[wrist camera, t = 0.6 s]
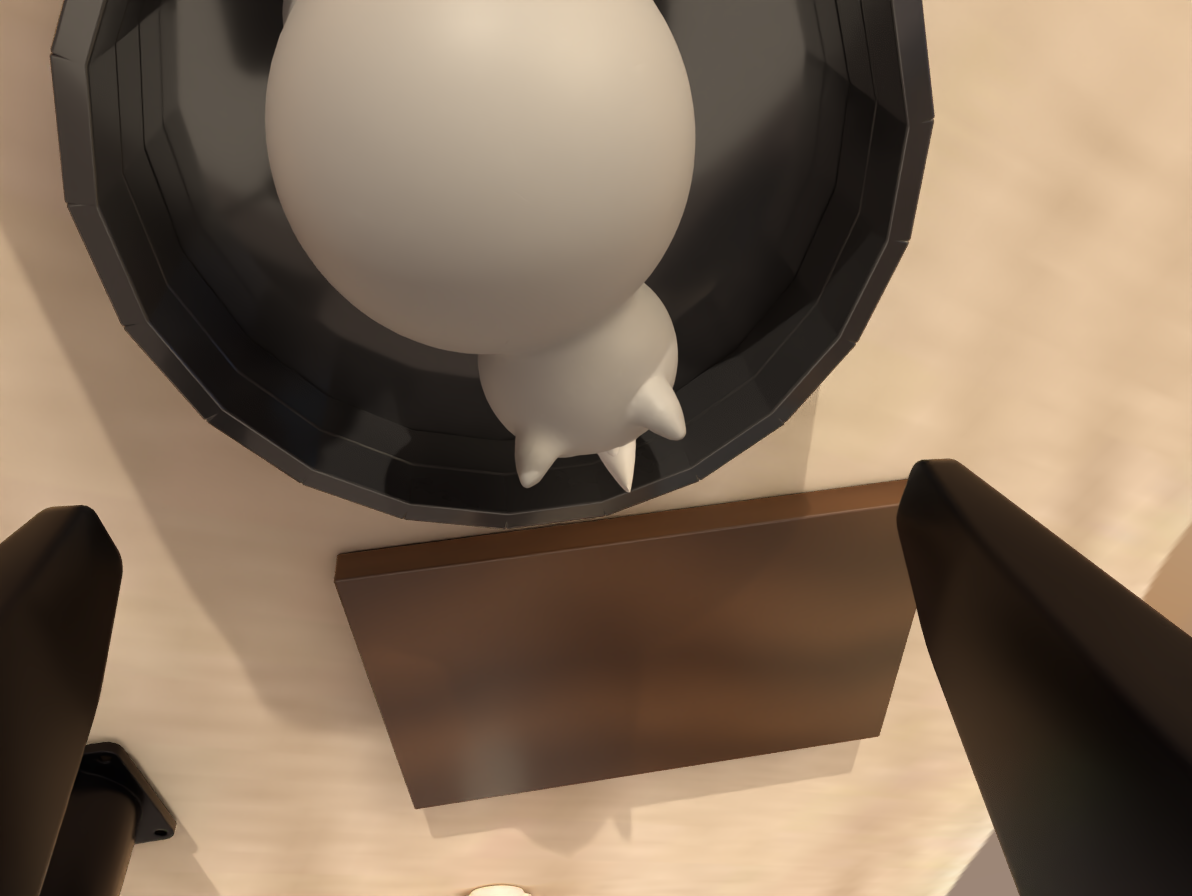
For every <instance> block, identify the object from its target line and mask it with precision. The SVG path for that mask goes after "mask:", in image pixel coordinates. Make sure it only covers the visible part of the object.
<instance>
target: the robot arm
mask: <svg viewBox="0 0 1192 896" xmlns="http://www.w3.org/2000/svg"><path fill="white" fill-rule="evenodd" d="M896 524H897V531H898V535H899V539H900V543H901V547H902V551H903V555H904V559H905V563H906V567H907V571H908V575H909V579H910V583H911V587H912V591H913V596H914V600H915V604H916V608H917V612H918V616H919V620H920V624H921V628H922V631H923V635H924V639H925V642H926V646H927V649H928V652H929V655H930V658H931V661H932V663H933V666H934V669H935V672H936V674H937V677H938V680H939V682H940V685H941V688H942V690H943V693H944V696H945V698H946V701H947V704H948V706H949V709H950V712H951V714H952V717H953V720H954V722H955V725H956V728H957V730H958V733H959V736H960V738H961V741H962V744H963V746H964V749H965V752H966V754H967V757H968V760H969V762H970V765H971V768H972V770H973V773H974V776H975V778H976V781H977V784H978V786H979V789H980V792H981V794H982V797H983V800H984V802H985V805H986V808H987V810H988V813H989V816H990V818H991V821H992V824H993V826H994V829H995V832H996V834H997V837H998V840H999V842H1000V845H1001V847H1002V850H1003V853H1004V855H1005V858H1006V861H1007V864H1008V866H1009V869H1010V871H1011V874H1012V877H1013V879H1014V882H1015V885H1016V887H1017V890H1018V893H1019V895H1020V896H1192V637H1191V636H1189V635H1188V634H1186V633H1185V632H1184V631H1182V630H1181V629H1180V628H1179V627H1177V626H1176V625H1175V624H1173V623H1172V622H1170V621H1169V620H1168V619H1167V618H1165V617H1164V616H1163V615H1161V614H1160V613H1159V612H1157V611H1156V610H1155V609H1153V608H1152V607H1151V606H1149V605H1148V604H1147V603H1145V602H1144V601H1143V600H1141V599H1140V598H1139V597H1137V596H1136V595H1135V594H1133V593H1132V592H1131V591H1129V590H1128V589H1127V588H1126V587H1124V586H1123V585H1122V584H1120V583H1119V582H1118V581H1116V580H1115V579H1114V578H1112V577H1111V576H1110V575H1108V574H1107V573H1106V572H1104V571H1103V570H1102V569H1100V568H1099V567H1098V566H1096V565H1095V564H1094V563H1092V562H1091V561H1090V560H1088V559H1087V558H1086V557H1084V556H1083V555H1082V554H1080V553H1079V552H1078V551H1076V550H1075V549H1074V548H1072V547H1071V546H1070V545H1068V544H1067V543H1066V542H1064V541H1063V540H1062V539H1060V538H1059V537H1058V536H1057V535H1055V534H1054V533H1053V532H1051V531H1050V530H1049V529H1047V528H1046V527H1045V526H1043V525H1042V524H1041V523H1039V522H1038V521H1037V520H1035V519H1034V518H1033V517H1031V516H1030V515H1029V514H1027V513H1026V512H1025V511H1023V510H1022V509H1021V508H1019V507H1018V506H1017V505H1015V504H1014V503H1013V502H1011V501H1010V500H1009V499H1007V498H1006V497H1005V496H1003V495H1002V494H1001V493H999V492H998V491H997V490H995V489H994V488H993V487H992V486H990V485H989V484H988V483H986V482H985V481H984V480H982V479H981V478H980V477H978V476H977V475H976V474H974V473H973V472H972V471H970V470H969V469H968V468H966V467H965V466H964V465H962V464H961V463H959V462H958V461H956V460H954V459H929V460H920V461H918V462H917V463H916V464H915V465H914V466H913V468H912V470H911V472H910V475H909V478H908V480H907V483H906V486H905V488H904V491H903V494H902V497H901V499H900V502H899V505H898V508H897V513H896ZM122 572H123V565H122V559H121V556H120V553H119V551H118V549H117V547H116V546H115V544H114V542H113V541H112V539H111V537H110V536H109V534H108V532H107V531H106V529H105V527H104V526H103V524H102V522H101V520H100V519H99V517H98V515H97V514H96V513H95V511H94V510H93V509H91V508H90V507H88V506H84V505H74V506H56V507H49V508H46V509H44V510H42V511H41V512H39V513H38V514H37V515H35V516H34V517H33V518H32V519H30V520H29V521H28V522H27V523H25V524H24V525H23V526H22V527H21V528H19V529H18V530H17V531H16V532H14V533H13V534H12V535H11V536H9V537H8V538H7V539H6V540H4V541H3V542H2V543H1V544H0V896H120V892H121V889H122V885H123V882H124V878H125V875H126V871H127V868H128V864H129V861H130V857H131V854H132V850H133V847H134V844H137V843H144V842H150V841H157V840H163V839H168V838H170V837H172V836H173V835H174V832H175V828H176V821H175V820H174V819H173V817H172V816H171V814H170V813H169V812H168V810H167V809H166V807H165V806H164V805H163V803H162V802H161V800H160V799H159V798H158V796H157V795H156V793H155V792H154V791H153V789H152V788H151V786H150V785H149V784H148V782H147V781H146V779H145V778H144V777H143V775H142V774H141V772H140V771H139V770H138V768H137V767H136V766H135V764H134V763H133V761H132V760H131V759H130V757H129V756H128V754H127V753H126V752H125V750H124V749H123V748H122V747H121V746H120V745H118V744H116V743H111V742H102V743H95V744H89V745H86V743H87V739H88V736H89V733H90V730H91V727H92V723H93V720H94V716H95V713H96V709H97V705H98V702H99V697H100V692H101V688H102V683H103V678H104V673H105V667H106V662H107V656H108V651H109V645H110V640H111V634H112V629H113V623H114V618H115V612H116V607H117V601H118V596H119V590H120V585H121V579H122Z"/></svg>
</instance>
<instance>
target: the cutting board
mask: <svg viewBox="0 0 1192 896" xmlns="http://www.w3.org/2000/svg"><path fill="white" fill-rule="evenodd" d="M907 480H908V479H904V480H897V481H889V482H882V483H874V484H866V485H859V486H851V487H844V488H836V489H829V490H821V491H814V492H806V493H799V494H791V495H784V496H776V497H768V498H761V499H753V500H746V501H738V502H731V503H723V504H716V505H708V506H701V507H693V508H686V509H678V510H670V511H663V512H655V513H648V514H640V515H633V516H625V517H618V518H610V519H603V520H595V521H587V522H580V523H572V524H565V525H557V526H550V527H542V528H535V529H527V530H520V531H512V532H505V533H497V534H489V535H482V536H474V537H467V538H459V539H452V540H444V541H437V542H429V543H422V544H414V545H407V546H399V547H391V548H384V549H376V550H369V551H361V552H354V553H346V554H339V555H338V556H337V561H336V568H335V576H334V583H335V586H336V589H337V591H338V594H339V597H340V600H341V603H342V605H343V608H344V611H345V614H346V617H347V619H348V622H349V625H350V628H351V631H352V634H353V636H354V639H355V642H356V645H357V648H358V650H359V653H360V656H361V659H362V662H363V664H364V667H365V670H366V673H367V676H368V679H369V681H370V684H371V687H372V690H373V693H374V695H375V698H376V701H377V704H378V707H379V709H380V712H381V715H382V718H383V721H384V724H385V726H386V729H387V732H388V735H389V738H390V740H391V743H392V746H393V749H394V752H395V755H396V757H397V760H398V763H399V766H400V769H401V771H402V774H403V777H404V780H405V783H406V785H407V788H408V791H409V794H410V797H411V800H412V802H413V805H414V808H415V809H421V808H427V807H433V806H440V805H446V804H452V803H459V802H465V801H471V800H478V799H484V798H490V797H497V796H503V795H510V794H516V793H522V792H529V791H535V790H541V789H548V788H554V787H560V786H567V785H573V784H579V783H586V782H592V781H599V780H605V779H611V778H618V777H624V776H630V775H637V774H643V773H649V772H656V771H662V770H668V769H675V768H681V767H688V766H694V765H700V764H707V763H713V762H719V761H726V760H732V759H738V758H745V757H751V756H757V755H764V754H770V753H777V752H783V751H789V750H796V749H802V748H808V747H815V746H821V745H827V744H834V743H840V742H846V741H853V740H859V739H866V738H872V737H878V736H879V735H880V732H881V728H882V725H883V721H884V718H885V714H886V711H887V708H888V704H889V701H890V697H891V694H892V690H893V687H894V683H895V680H896V676H897V673H898V669H899V666H900V663H901V659H902V656H903V652H904V649H905V645H906V642H907V638H908V635H909V631H910V628H911V625H912V621H913V618H914V614H915V611H916V604H915V600H914V596H913V591H912V587H911V583H910V579H909V575H908V571H907V567H906V563H905V559H904V555H903V551H902V547H901V543H900V539H899V535H898V531H897V524H896V513H897V508H898V505H899V502H900V499H901V497H902V494H903V491H904V488H905V486H906V483H907Z"/></svg>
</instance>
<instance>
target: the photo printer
mask: <svg viewBox="0 0 1192 896" xmlns="http://www.w3.org/2000/svg"><path fill="white" fill-rule="evenodd" d="M468 896H531V894H528V893H524V891H523V889H521V888H519V887H515V886H507V885H496V886H487V887H482V888H478V889H475V890H473V891H472V892H471V894H470V895H468Z"/></svg>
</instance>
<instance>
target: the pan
mask: <svg viewBox="0 0 1192 896" xmlns="http://www.w3.org/2000/svg"><path fill="white" fill-rule="evenodd" d="M653 1H654V3H655V5H656V6H657V8H658V10H659V11H660V13H661V14H662V16H663V18H664V19H665V21H666V23H667V25H668V27H669V29H670V31H671V33H672V35H673V37H674V40H675V42H676V44H677V47H678V49H679V52H680V54H681V57H682V60H683V63H684V66H685V69H686V73H687V77H688V81H689V85H690V90H691V95H692V101H693V107H694V117H695V157H694V169H693V175H692V181H691V186H690V190H689V195H688V199H687V203H686V206H685V209H684V212H683V215H682V218H681V220H680V223H679V226H678V228H677V230H676V232H675V235H674V237H673V239H672V241H671V243H670V245H669V247H668V248H667V250H666V252H665V254H664V255H663V257H662V259H661V260H660V262H659V263H658V265H657V266H656V268H655V269H654V271H653V272H652V273H651V275H650V276H649V277H648V278H647V280H646V281H645V282H644V283H645V284H646V285H647V286H648V287H649V288H650V289H652V291H653V292H654V293H655V294H656V295H657V296H658V297H659V299H660V300H661V302H662V303H663V305H664V306H665V308H666V310H667V312H668V314H669V316H670V318H671V321H672V324H673V327H674V330H675V334H676V339H677V347H678V364H677V372H676V377H675V382H674V386H673V388H672V389H673V391H674V393H675V395H676V397H677V399H678V401H679V403H680V406H681V409H682V412H683V416H684V420H685V426H686V435H685V436H684V438H683V439H680V440H670V439H667V438H665V437H663V436H660V435H658V434H656V433H654V432H652V431H650V430H649V429H648V430H647V431H646V432H645V433H643V434H642V435H640V436H639V437H638V438H637V439H636V450H635V464H634V472H633V479H632V485H631V490H630V492H626V491H625V490H624V489H623V488H622V487H621V486H620V485H619V484H618V482H617V481H616V480H615V479H614V477H613V476H612V475H611V473H610V472H609V471H608V469H607V468H606V466H605V465H604V463H603V462H602V460H601V459H600V457H599V455H598V453H596V454H587V455H577V456H573V457H565V458H559V457H558V458H557V459H556V460H555V461H554V463H553V464H552V465H551V467H550V468H549V469H548V471H547V472H546V473H545V475H544V476H543V478H542V479H541V480H540V482H538V483H537V484H535V485H534V486H532V487H530V488H525V487H523V486H522V484H521V482H520V479H519V476H518V473H517V469H516V463H515V438H516V436H514V435H513V434H512V433H511V432H510V431H509V430H507V428H506V427H505V426H504V425H503V424H502V423H501V421H500V420H499V419H498V418H497V416H496V415H495V413H494V412H493V410H492V408H491V407H490V405H489V403H488V401H487V399H486V396H485V394H484V391H483V388H482V385H481V381H480V376H479V370H478V354H467V353H459V352H453V351H447V350H442V349H438V348H435V347H431V346H428V345H425V344H422V343H419V342H416V341H414V340H411V339H409V338H407V337H404V336H402V335H399V334H397V333H396V332H394V331H392V330H390V329H388V328H386V327H384V326H383V325H381V324H379V323H378V322H376V321H374V320H373V319H371V318H370V317H368V316H367V315H366V314H364V313H363V312H361V311H360V310H359V309H357V308H356V307H355V306H354V305H352V304H351V303H350V302H349V301H348V300H347V299H346V298H345V297H343V296H342V295H341V294H340V293H339V292H338V291H337V290H336V289H335V288H334V287H333V286H332V285H331V284H330V283H329V282H328V281H327V279H326V278H325V277H324V276H323V275H322V274H321V272H320V271H319V270H318V269H317V268H316V266H315V265H314V263H313V262H312V261H311V259H310V258H309V256H308V255H307V253H306V252H305V250H304V249H303V247H302V246H301V244H300V243H299V241H298V239H297V237H296V236H295V234H294V232H293V230H292V228H291V226H290V224H289V221H288V219H287V217H286V215H285V213H284V211H283V208H282V205H281V203H280V200H279V197H278V195H277V191H276V188H275V184H274V180H273V177H272V173H271V169H270V164H269V158H268V152H267V144H266V131H265V105H266V91H267V84H268V78H269V73H270V68H271V63H272V59H273V55H274V52H275V49H276V46H277V43H278V39H279V36H280V34H281V32H282V29H283V27H284V26H283V15H282V11H283V0H64V1H63V4H62V8H61V12H60V15H59V19H58V23H57V27H56V30H55V34H54V38H53V41H52V45H51V54H50V64H51V73H52V83H53V93H54V102H55V112H56V122H57V131H58V141H59V151H60V160H61V170H62V180H63V189H64V199H65V202H66V203H67V208H68V210H69V212H70V214H71V216H72V218H73V221H74V223H75V225H76V227H77V229H78V231H79V234H80V236H81V238H82V240H83V242H84V245H85V247H86V249H87V251H88V253H89V255H90V258H91V260H92V262H93V264H94V266H95V268H96V271H97V273H98V275H99V277H100V279H101V282H102V284H103V286H104V288H105V290H106V292H107V295H108V297H109V299H110V301H111V303H112V306H113V308H114V310H115V312H116V314H117V316H118V319H119V321H120V323H121V325H122V326H124V329H125V331H126V332H127V333H128V334H129V335H130V336H131V338H132V339H133V340H134V341H135V342H136V343H137V344H138V346H139V347H140V348H141V349H142V350H143V351H144V352H145V353H146V355H147V356H148V357H149V358H150V359H151V360H152V361H153V362H154V364H155V365H156V366H157V367H158V368H159V369H160V370H161V372H162V373H163V374H164V375H165V376H166V377H167V378H168V379H169V381H170V382H171V383H172V384H173V385H174V386H175V387H176V388H177V390H178V391H179V392H180V393H181V394H182V395H183V396H184V398H185V399H186V400H187V401H188V402H189V403H190V404H191V405H192V407H193V408H194V409H195V410H196V411H197V412H198V413H199V414H200V416H201V417H202V418H203V419H205V420H206V421H207V422H208V423H209V424H210V425H212V426H214V427H215V428H217V429H218V430H220V431H221V432H223V433H224V434H226V435H227V436H229V437H230V438H232V439H233V440H235V441H236V442H238V443H240V444H241V445H243V446H244V447H246V448H247V449H249V450H250V451H252V452H253V453H255V454H256V455H258V456H259V457H261V458H262V459H264V460H266V461H267V462H269V463H270V464H272V465H273V466H275V467H276V468H278V469H279V470H281V471H282V472H284V473H285V474H287V475H288V476H290V477H292V478H293V479H295V480H296V481H298V482H299V483H302V484H303V485H305V486H308V487H311V488H314V489H317V490H319V491H322V492H325V493H328V494H331V495H334V496H337V497H340V498H343V499H346V500H349V501H351V502H354V503H357V504H360V505H363V506H366V507H369V508H372V509H375V510H378V511H380V512H383V513H386V514H389V515H392V516H395V517H398V518H401V519H403V518H404V519H406V520H415V521H426V522H436V523H446V524H456V525H467V526H477V527H487V528H498V529H506V528H507V529H511V528H518V527H526V526H533V525H541V524H549V523H556V522H564V521H571V520H579V519H586V518H594V517H601V516H605V515H606V516H607V515H610V514H613V513H616V512H618V511H621V510H624V509H626V508H629V507H632V506H634V505H637V504H640V503H642V502H645V501H648V500H650V499H653V498H656V497H658V496H661V495H664V494H666V493H669V492H672V491H674V490H677V489H680V488H682V487H685V486H688V485H690V484H693V483H696V482H698V481H699V480H702V479H703V478H705V477H706V476H708V475H709V474H711V473H712V472H714V471H715V470H717V469H718V468H720V467H721V466H723V465H724V464H726V463H727V462H729V461H730V460H732V459H733V458H735V457H736V456H738V455H739V454H741V453H742V452H744V451H745V450H747V449H748V448H750V447H751V446H752V445H754V444H755V443H757V442H758V441H760V440H761V439H763V438H764V437H766V436H767V435H769V434H770V433H772V432H773V431H775V430H776V429H778V428H779V427H781V426H782V425H784V422H786V421H788V419H789V418H790V417H791V416H792V415H793V414H794V413H795V412H796V411H797V409H798V408H799V407H800V406H801V405H802V404H803V403H804V402H805V401H806V400H807V398H808V397H809V396H810V395H811V394H812V393H813V392H814V391H815V390H816V388H817V387H818V386H819V385H820V384H821V383H822V382H823V381H824V380H825V379H826V377H827V376H828V375H829V374H830V373H831V372H832V371H833V370H834V369H835V367H836V366H837V365H838V364H839V363H840V362H841V361H842V360H843V359H844V358H845V356H846V355H847V354H848V353H849V352H850V351H851V350H852V349H853V348H854V346H855V345H856V342H858V341H859V339H860V337H861V335H862V333H863V331H864V329H865V327H866V325H867V323H868V322H869V320H870V318H871V316H872V314H873V312H874V310H875V308H876V306H877V304H878V302H879V300H880V298H881V296H882V294H883V292H884V291H885V289H886V287H887V285H888V283H889V281H890V279H891V277H892V275H893V273H894V271H895V269H896V267H897V265H898V263H899V262H900V260H901V258H902V256H903V254H904V252H905V250H906V248H907V246H908V244H909V240H910V239H911V234H912V229H913V224H914V219H915V214H916V209H917V204H918V199H919V194H920V189H921V184H922V179H923V174H924V169H925V164H926V159H927V154H928V149H929V144H930V139H931V134H932V129H933V124H934V119H933V118H934V116H935V115H934V106H933V97H932V87H931V78H930V69H929V60H928V50H927V41H926V32H925V23H924V13H923V4H922V0H653Z"/></svg>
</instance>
